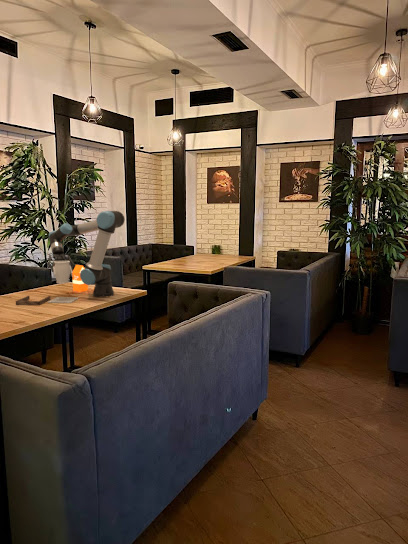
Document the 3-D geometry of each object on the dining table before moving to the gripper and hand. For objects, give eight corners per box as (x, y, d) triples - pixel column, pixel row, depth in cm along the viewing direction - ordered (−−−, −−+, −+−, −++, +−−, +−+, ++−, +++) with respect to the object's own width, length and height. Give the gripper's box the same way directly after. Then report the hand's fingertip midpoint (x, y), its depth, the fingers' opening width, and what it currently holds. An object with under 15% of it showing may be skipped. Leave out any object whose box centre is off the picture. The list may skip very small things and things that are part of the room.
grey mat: (79, 298, 286) (79, 297, 286) (70, 303, 270) (70, 302, 270) (57, 297, 287) (57, 297, 287) (47, 302, 271) (47, 302, 271)
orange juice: (81, 289, 320) (80, 264, 317) (88, 290, 315) (87, 265, 312) (72, 290, 314) (71, 265, 311) (79, 291, 309) (78, 266, 306)
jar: (65, 284, 271) (64, 262, 269) (51, 283, 273) (50, 261, 271) (73, 281, 281) (72, 260, 279) (60, 281, 283) (59, 260, 281)
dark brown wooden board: (50, 299, 281) (50, 296, 280) (39, 305, 264) (39, 301, 263) (28, 299, 281) (28, 295, 281) (15, 304, 265) (15, 301, 264)
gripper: (73, 252, 293) (79, 276, 282) (39, 254, 281) (45, 279, 270) (74, 245, 288) (81, 270, 277) (40, 247, 276) (46, 272, 265)
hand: (63, 274), depth 274 cm, fingers closed on jar, 10 cm apart
